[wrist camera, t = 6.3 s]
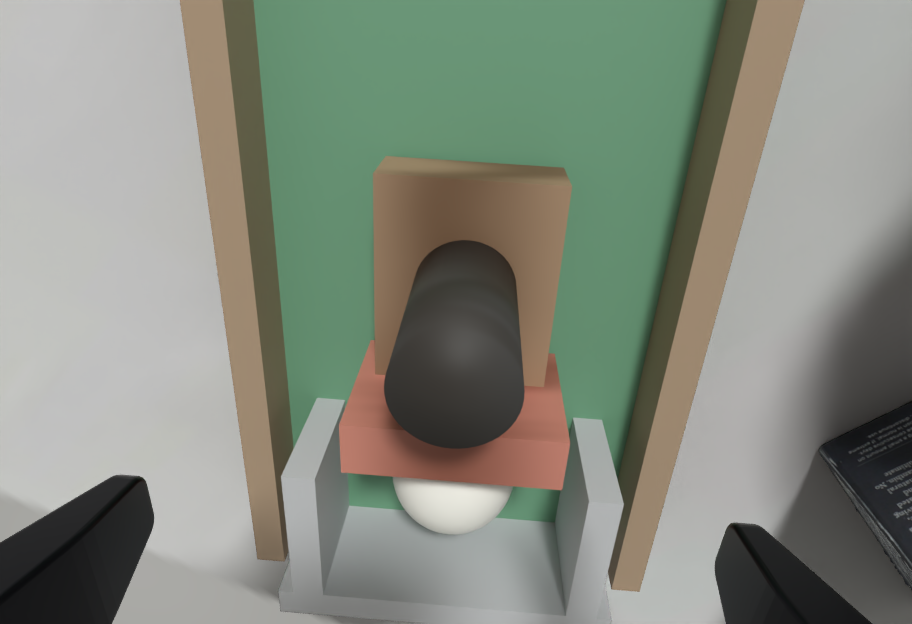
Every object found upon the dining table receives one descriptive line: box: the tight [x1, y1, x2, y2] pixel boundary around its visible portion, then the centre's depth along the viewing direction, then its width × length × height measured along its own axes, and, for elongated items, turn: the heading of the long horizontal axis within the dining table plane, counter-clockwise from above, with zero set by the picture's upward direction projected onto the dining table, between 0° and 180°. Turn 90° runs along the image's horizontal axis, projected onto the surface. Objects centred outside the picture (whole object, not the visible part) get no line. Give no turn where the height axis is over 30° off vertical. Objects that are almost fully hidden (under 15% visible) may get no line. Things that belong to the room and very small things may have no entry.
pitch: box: [180, 0, 805, 624], centre depth 16 cm, size 14×27×5 cm, turn 177°
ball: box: [393, 477, 513, 535], centre depth 20 cm, size 4×4×4 cm
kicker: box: [339, 156, 572, 490], centre depth 15 cm, size 6×8×7 cm
